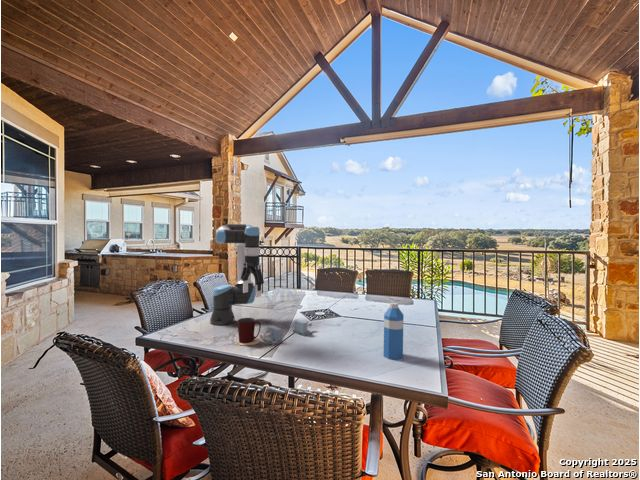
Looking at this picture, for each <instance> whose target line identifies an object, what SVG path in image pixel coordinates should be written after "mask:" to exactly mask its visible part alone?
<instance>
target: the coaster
mask: <svg viewBox="0 0 640 480" xmlns="http://www.w3.org/2000/svg"><path fill="white" fill-rule="evenodd" d="M260 342H261V338H258V337H256V338H255V339H254V340H253V341H252V342H250V343H240V342H239V339H238V340H237V341H236V345H239V346H243V347H247V346H248V347H250V346H256V345H258V344H260Z"/></svg>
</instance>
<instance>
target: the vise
mask: <svg viewBox="0 0 640 480" xmlns="http://www.w3.org/2000/svg"><path fill="white" fill-rule="evenodd" d="M293 324H294V325H293V329H292V332H293V333H294V334H298V335H300V336H303V337H307V336H309V335H312V334H313V331H312V330H308V327H313V322H312V321H305V320H302V319H299V318H298V319H294V320H293ZM259 337H260V338H259V339H260V340H262V341H263V342H265V343H267V344H269V345H271V346H277V345H279V344H282V343H283V339H282V328H280V327H277V326H275V325H270V326H268V327H267V333H261V334H259Z"/></svg>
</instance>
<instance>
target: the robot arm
mask: <svg viewBox="0 0 640 480" xmlns="http://www.w3.org/2000/svg"><path fill="white" fill-rule="evenodd" d="M260 235H261V233H260V228H259V226H252V225H251V224H246V223H245V224H243V223H242V224H240V223H239V224H237V223H236V224H235V223H227V224H224V225H221V226H219V227H218V228H216V230H215V243H216V244H234V245H235V246H236V255H237V256H236V259H237V262H236V263H237V268H236V269H237V282H236V283H235V286H233V285H232V284H223V285H218V286H216V287H214V288H213V292H212V297H213V299H212V313H211V315H210V318H209V323H210V324H211V325H214V326H222V325H223V326H225V325H230V324H233V323H234V322H235V321H236V320H235V318H236V317H235V315H234V312H233V306H236V305H250V304H253V303H254V302H255V299H256V298H261V297H262V285H263V284H264V283H265V282H264V277H263V273H262V267H261V264H259V265H258V263H259V262H260ZM251 275H253V277H254V281H255V285H254V282H252V278H251V277H252V276H251Z"/></svg>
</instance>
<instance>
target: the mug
mask: <svg viewBox="0 0 640 480" xmlns="http://www.w3.org/2000/svg"><path fill="white" fill-rule="evenodd" d="M256 324H258V325H259V328H258V332H257V334H256V335H255V326H256ZM261 327H262V326H261V322H260V321H256V319H255V318H254V317H242V318H239V319H237V333H238V340H239V342H240V343H250V342H252V341H253V340H254V339H255V338H258V336H260V332H261Z"/></svg>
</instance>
